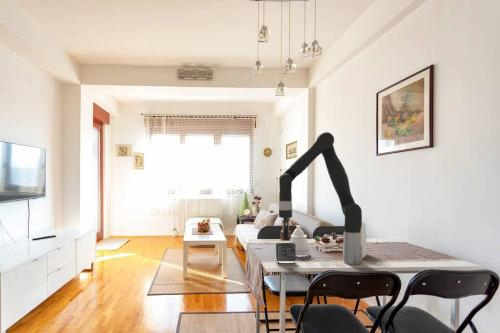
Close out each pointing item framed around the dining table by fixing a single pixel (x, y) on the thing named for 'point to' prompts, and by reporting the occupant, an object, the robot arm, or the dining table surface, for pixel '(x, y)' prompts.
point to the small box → (285, 252)
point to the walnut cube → (283, 235)
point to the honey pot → (300, 241)
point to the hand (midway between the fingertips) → (285, 238)
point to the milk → (362, 240)
